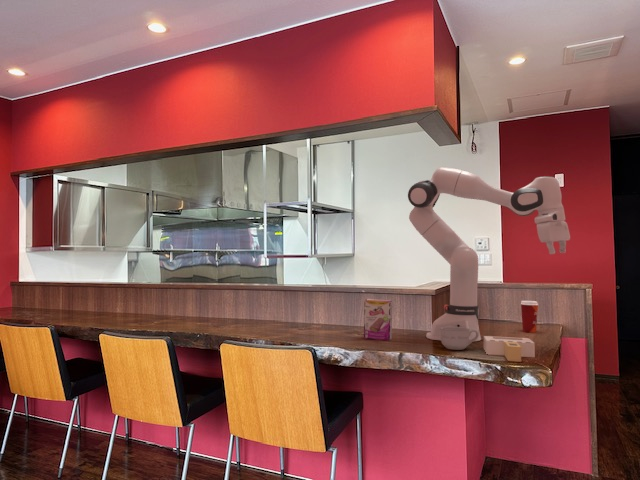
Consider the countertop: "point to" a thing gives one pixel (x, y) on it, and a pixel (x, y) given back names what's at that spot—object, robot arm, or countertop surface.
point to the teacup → (457, 337)
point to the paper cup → (529, 315)
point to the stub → (513, 351)
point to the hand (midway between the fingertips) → (557, 253)
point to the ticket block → (498, 345)
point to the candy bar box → (378, 319)
